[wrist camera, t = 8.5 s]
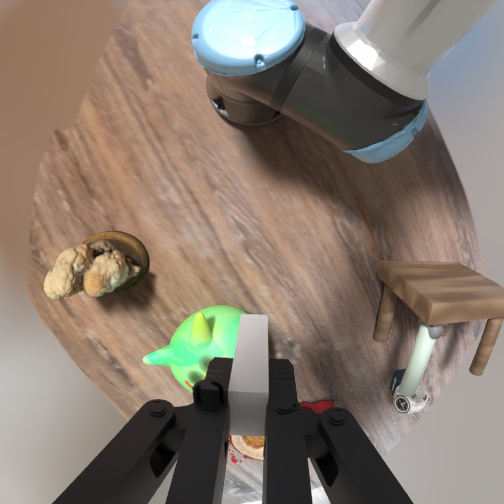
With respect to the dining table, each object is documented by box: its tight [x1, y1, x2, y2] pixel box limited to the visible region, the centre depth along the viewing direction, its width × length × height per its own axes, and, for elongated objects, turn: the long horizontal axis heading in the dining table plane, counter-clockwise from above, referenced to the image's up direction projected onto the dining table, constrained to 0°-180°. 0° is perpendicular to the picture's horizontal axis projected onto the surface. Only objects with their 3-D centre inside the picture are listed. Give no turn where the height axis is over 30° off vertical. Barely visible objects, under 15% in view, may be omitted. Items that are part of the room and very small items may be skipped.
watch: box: [389, 369, 428, 414], centre depth 52 cm, size 6×8×11 cm
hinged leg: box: [398, 317, 443, 397], centre depth 36 cm, size 13×3×4 cm, turn 177°
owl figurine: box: [44, 231, 148, 300], centre depth 44 cm, size 18×12×17 cm, turn 101°
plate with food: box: [229, 400, 334, 463], centre depth 61 cm, size 25×26×4 cm
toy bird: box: [143, 305, 247, 392], centre depth 48 cm, size 18×17×15 cm
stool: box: [374, 260, 504, 376], centre depth 42 cm, size 15×20×20 cm
